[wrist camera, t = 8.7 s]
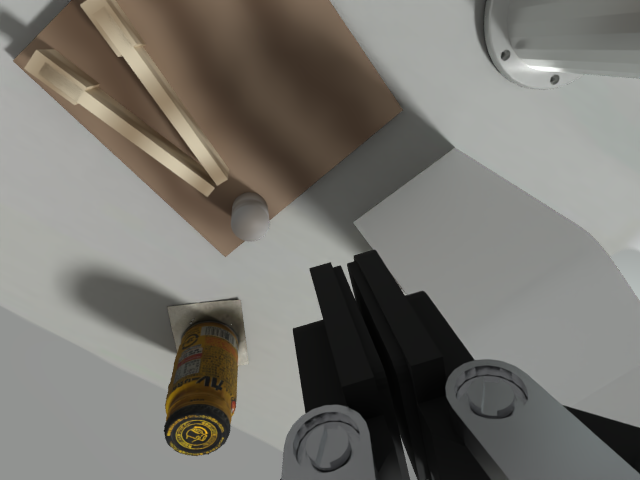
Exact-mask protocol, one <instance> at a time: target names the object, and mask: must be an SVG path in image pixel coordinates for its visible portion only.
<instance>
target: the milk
mask: <svg viewBox="0 0 640 480" xmlns="http://www.w3.org/2000/svg"><path fill="white" fill-rule="evenodd" d="M353 223H354V225H355V226H356V227H357V229H358V230H359V231H360V233H361V234H362V235H363V237H364V238H365V239H366V241H367V242H368V243H369V245H370V246H371V247H372V249H373V250H376V251H377V252H378V254H379V256H380V257H381V259H382V260H383V262H384V264H385V265H386V267H387V268H388V270H389V271H390V273H391V274H392V275H393V277H394V278H395V279H396V281H397V282H398V283H399V285H400V286H401V287H402V289H403V290H404V291H405V293H406V294H407V295H409V294H412V293H416V292H419V291H425V292H426V294H427V295H428V296H429V297H430V299H431V300H432V302H433V303H434V304H435V306H436V307H437V308H438V310H439V311H440V313H441V314H442V315H443V317H444V318H445V320H446V321H447V322H448V324H449V325H450V326H451V328H452V329H453V331H454V332H455V333H456V335H457V336H458V338H459V339H460V340H461V342H462V343H463V344H464V346H465V347H466V349H467V350H468V351H469V353H470V354H471V356H472V357H473V358H474V360H483V359H492V360H498V361H504V362H506V363H509V364H511V365H514V366H516V367H518V368H519V369H521V370H522V371H524V372H525V373H527V374H528V375H529V376H530V377H531V378H532V379H533V380H534V381H536V382H537V383H538V384H539V385H540V386H541V387H542V388H543V389H545V390H546V391H547V392H548V393H549V394H550V395H551V396H552V397H554V398H555V399H556V400H557V401H558V402H559V403H560V404H561V405H564V406H568V407H571V408H575V409H578V410H581V411H585V412H588V413H592V414H595V415H599V416H602V417H605V418H609V419H612V420H616V421H619V422H622V423H626V424H629V425H633V426H636V427H639V428H640V301H639V299H638V298H637V296H636V295H635V293H634V292H633V290H632V289H631V287H630V286H629V285H628V283H627V281H626V280H625V278H624V277H623V275H622V274H621V272H620V271H619V269H618V268H617V266H616V265H615V264H614V262H613V261H612V259H611V258H610V256H609V255H608V254H607V252H606V251H605V250H604V249H603V247H602V246H601V245H600V244H599V242H598V241H597V240H596V239H595V238H594V237H593V236H592V235H591V234H590V233H588V232H587V231H586V230H584V229H583V228H582V227H580V226H579V225H577V224H576V223H574V222H572V221H571V220H569V219H568V218H566V217H564V216H563V215H561V214H560V213H558V212H556V211H555V210H553V209H552V208H550V207H549V206H547V205H545V204H544V203H542V202H541V201H539V200H537V199H536V198H534V197H533V196H531V195H530V194H528V193H526V192H525V191H523V190H522V189H520V188H518V187H517V186H515V185H514V184H512V183H510V182H509V181H507V180H506V179H504V178H503V177H501V176H499V175H498V174H496V173H495V172H493V171H491V170H490V169H488V168H487V167H485V166H484V165H482V164H480V163H479V162H477V161H476V160H474V159H472V158H471V157H469V156H468V155H466V154H465V153H463V152H461V151H460V150H458V149H457V148H454V149H452V150H451V151H450V152H448V153H447V154H446V155H444V156H443V157H441V158H440V159H439V160H437V161H436V162H435V163H433V164H432V165H431V166H429V167H428V168H426V169H425V170H424V171H422V172H421V173H420V174H418V175H417V176H416V177H414V178H413V179H411V180H410V181H409V182H407V183H406V184H405V185H403V186H402V187H401V188H399V189H398V190H396V191H395V192H394V193H392V194H391V195H390V196H388V197H387V198H386V199H384V200H383V201H381V202H380V203H379V204H377V205H376V206H375V207H373V208H372V209H371V210H369V211H368V212H366V213H365V214H364V215H362V216H361V217H360V218H358V219H357V220H356V221H354V222H353Z"/></svg>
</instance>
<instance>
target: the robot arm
mask: <svg viewBox="0 0 640 480" xmlns="http://www.w3.org/2000/svg"><path fill="white" fill-rule="evenodd" d="M484 33H485V41H486V45H487V49H488V53H489V55H490V57H491V59H492V61H493V63H494V65H495V66H496V68H497V69H498V70H499V71H500V73H501V74H502V75H503V76H504V77H506V78H507V79H508V80H509V81H511V82H513V83H515V84H517V85H519V86H521V87H526V88H530V89H539V90H548V89H555V88H559V87H562V86H565V85H568V84H570V83H572V82H574V81H575V80H577V79H579V78H581V77H582V76H583V75H585V74H587V75H599V76H611V77H624V78H636V79H640V0H487V2H486V6H485V16H484ZM501 53H502V57H501ZM347 267H348V271H349V275H350V279H351V283H352V288H353V292H354V296H355V298H354V296H353V294H352V291H351V289H350V286H349V284H348V282H347V279H346V277H345V275H344V272H343V270H342V267H341V266H337V267H334V268H333V267H332V265H331V262H330V263H326V264H323V265H320V266H316V267H313V268H309V269H310V273H311V276H312V280H313V284H314V287H315V291H316V294H317V298H318V302H319V305H320V309H321V313H322V316H323V320H320V321H317V322H314V323H310V324H307V325H303V326H300V327H297V328H293V335H294V342H295V348H296V355H297V361H298V368H299V374H300V380H301V387H302V393H303V400H304V406H305V413H306V414H304V415H302V416H301V417H300V418H299V419H298V420H297V421H296V422H295V423H294V424H293V426H292V427H291V429H290V431H289V433H288V434H287V437H286V441H285V445H284V452H283V465H282V478H281V479H280V480H410V477H409V473H408V469H407V464H406V460H405V455H404V451H403V446H402V442H401V438H402V441H403V444H404V446H405V448H406V451H407V454H408V456H409V459H410V461H411V464H412V466H413V469H414V472H415V474H416V477H417V479H418V480H640V428H639V427H636V426H633V425H629V424H626V423H622V422H619V421H616V420H612V419H609V418H605V417H602V416H599V415H595V414H592V413H588V412H585V411H581V410H578V409H575V408H571V407H568V406H564V405H561V404H560V403H559V402H558V401H557V400H556V399H555V398H554V397H552V396H551V395H550V394H549V393H548V392H547V391H546V390H545V389H543V388H542V387H541V386H540V385H539V384H538V383H537V382H536V381H534V380H533V379H532V378H531V377H530V376H529V375H528V374H527V373H525V372H524V371H522V370H521V369H519V368H518V367H516V366H514V365H511V364H509V363H506V362H504V361H498V360H492V359H483V360H474V358H473V357H472V356H471V354H470V353H469V351H468V350H467V349H466V347H465V346H464V344H463V343H462V342H461V340H460V339H459V338H458V336H457V335H456V333H455V332H454V331H453V329H452V328H451V326H450V325H449V324H448V322H447V321H446V320H445V318H444V317H443V315H442V314H441V313H440V311H439V310H438V308H437V307H436V306H435V304H434V303H433V302H432V300H431V299H430V297H429V296H428V295H427V294H426V292H425V291H419V292H416V293H412V294H409V295H404V294H403V292H402V291H401V289H400V287H399V286H398V284H397V283H396V281H395V279H394V278H393V276H392V275H391V273H390V271H389V270H388V268H387V267H386V265H385V264H384V262H383V260H382V259H381V257H380V256H379V254H378V252H377V251H376V250H371V251H368V252H365V253H361V254H358V255H354V262H351V263H347ZM355 300H356V301H355ZM400 436H401V437H400Z"/></svg>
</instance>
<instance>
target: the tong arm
mask: <svg viewBox="0 0 640 480" xmlns="http://www.w3.org/2000/svg"><path fill="white" fill-rule="evenodd" d="M80 6H81V7H82V9H83V10H84V11H85V13H86V14H87V16H88V17H89V18H90V20H91V21H92V22H93V24H94V25H95V26H96V28H97V29H98V31H99V32H100V33H101V35H102V36H103V37H104V39H105V40H106V41H107V43H108V44H109V45H110V47H111V48H112V50H113V51H114V52H115V54H116V55H117V56H118V57H122V56H123V57H124V59H125V60H126V61H127V63H128V64H129V66H130V67H131V68H132V70H133V71H134V72H135V74H136V75H137V77H138V78H139V79H140V81H141V82H142V83H143V85H144V86H145V88H146V89H147V90H148V92H149V93H150V94H151V96H152V97H153V98H154V100H155V101H156V103H157V104H158V105H159V107H160V108H161V109H162V111H163V112H164V114H165V115H166V116H167V118H168V119H169V120H170V122H171V123H172V124H173V126H174V127H175V129H176V130H177V131H178V133H179V134H180V135H181V137H182V138H183V140H184V141H185V142H186V144H187V145H188V146H189V148H190V149H191V151H192V152H193V153H194V155H195V156H196V157H197V159H198V160H199V161H200V163H201V164H202V166H203V167H204V168H205V170H206V171H207V172H208V174H209V175H210V177H211V178H212V179H213V181H214V182H215V183H216V185H217V186H218V185H220V184H221V183H223V182H225V181H226V180H228V175H229V169H228V167H227V166H226V164H225V163H224V162H223V160H222V159H221V157H220V156H219V154H218V153H217V152H216V150H215V149H214V147H213V146H212V144H211V143H210V142H209V140H208V139H207V137H206V136H205V134H204V133H203V132H202V130H201V129H200V127H199V126H198V124H197V123H196V122H195V120H194V119H193V117H192V116H191V114H190V113H189V112H188V110H187V109H186V107H185V106H184V104H183V103H182V102H181V100H180V99H179V97H178V96H177V94H176V93H175V92H174V90H173V89H172V87H171V86H170V84H169V83H168V82H167V80H166V79H165V77H164V76H163V74H162V73H161V72H160V70H159V69H158V67H157V66H156V65H155V63H154V62H153V60H152V59H151V57H150V56H149V55H148V53H147V52H146V50H145V49H144V47H143V46H145V45H146V43H145V42H144V41H143V39H142V38H141V36H140V35H139V33H138V32H137V30H136V29H135V28H134V26H133V25H132V23H131V22H130V20H129V19H128V18H127V16H126V15H125V13H124V12H123V10H122V9H121V7H120V6H119V5H118V3H117V2H116V0H86V1H85V2H84V3H82V4H81V5H80Z"/></svg>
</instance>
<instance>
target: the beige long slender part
mask: <svg viewBox="0 0 640 480" xmlns="http://www.w3.org/2000/svg"><path fill="white" fill-rule="evenodd" d="M24 69H25V70H26V71H28V72H29V73H31V74H32V75H33V76H35V77H36V78H38V79H39V80H40V81H42V82H43V83H44V84H46V85H47V86H49V87H50V88H51V89H53V90H54V91H56V92H57V93H58V94H60V95H61V96H62V97H64V98H65V99H67V100H68V101H69V102H71V103H72V104H73V105H76V104H80V105H82V106H83V107H84V108H86V109H87V110H89V111H90V112H91V113H93V114H94V115H95V116H97V117H98V118H100V119H101V120H102V121H104V122H105V123H106V124H108V125H109V126H111V127H112V128H113V129H115V130H116V131H117V132H119V133H120V134H122V135H123V136H124V137H126V138H127V139H128V140H130V141H131V142H133V143H134V144H135V145H137V146H138V147H139V148H141V149H142V150H143V151H145V152H146V153H148V154H149V155H150V156H152V157H153V158H154V159H156V160H157V161H159V162H160V163H161V164H163V165H164V166H165V167H167V168H168V169H170V170H171V171H172V172H174V173H175V174H176V175H178V176H179V177H181V178H182V179H183V180H185V181H186V182H187V183H189V184H190V185H192V186H193V187H194V188H196V189H197V190H198V191H200V192H201V193H203V194H204V195H205V196H207V197H208V196H209V195H210V193H211V192H212V191H213V190H214V189H215V186H216V183H215V182H214V181H213V179H212V178H211V177H210V175H209V174H208V172H207V171H206V170H205V168H204V167H203V166H201V165H200V164H199V163H197V162H196V161H195V160H194V159H192V158H191V157H190V156H188V155H187V154H186V153H184V152H183V151H182V150H180V149H179V148H178V147H176V146H175V145H174V144H172V143H171V142H170V141H168V140H167V139H166V138H164V137H163V136H162V135H161V134H159V133H158V132H157V131H155V130H154V129H153V128H151V127H150V126H149V125H147V124H146V123H145V122H143V121H142V120H141V119H139V118H138V117H137V116H135V115H134V114H133V113H131V112H130V111H129V110H127V109H126V108H125V107H124V106H122V105H121V104H120V103H118V102H117V101H116V100H114V99H113V98H112V97H110V96H109V95H108V94H106V93H105V92H104V91H102V90H101V89H100V88H98V86H99V85H100V84H99V83H98V82H97V81H95V80H94V79H93V78H92V77H90V76H89V75H88V74H86V73H85V72H84V71H82V70H81V69H80V68H78V67H77V66H76V65H74V64H73V63H72V62H71V61H69V60H68V59H67V58H65V57H64V56H63V55H61V54H60V53H59V52H57V51H56V50H55V49H49V50H36V51H35V52H34V54H33V55H32V57H31V59H30V60H29V62H28V63H27V65H26V66H25V68H24ZM269 226H270V221H269V213H268V205H267V203H266V201H265V199H264V198H263V197H262V196H260V195H259V194H257V193H253V192H247V193H243V194H241V195H239V196H238V197H237V198H236V199H235V201H234V203H233V206H232V216H231V228H232V231H233V233H234V234H235V235H236V236H237V237H238V238H240V239H242V240H244V241H257V240H259V239H261V238H263V237H264V236H265V235H266V233H267V232H268V230H269Z"/></svg>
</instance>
